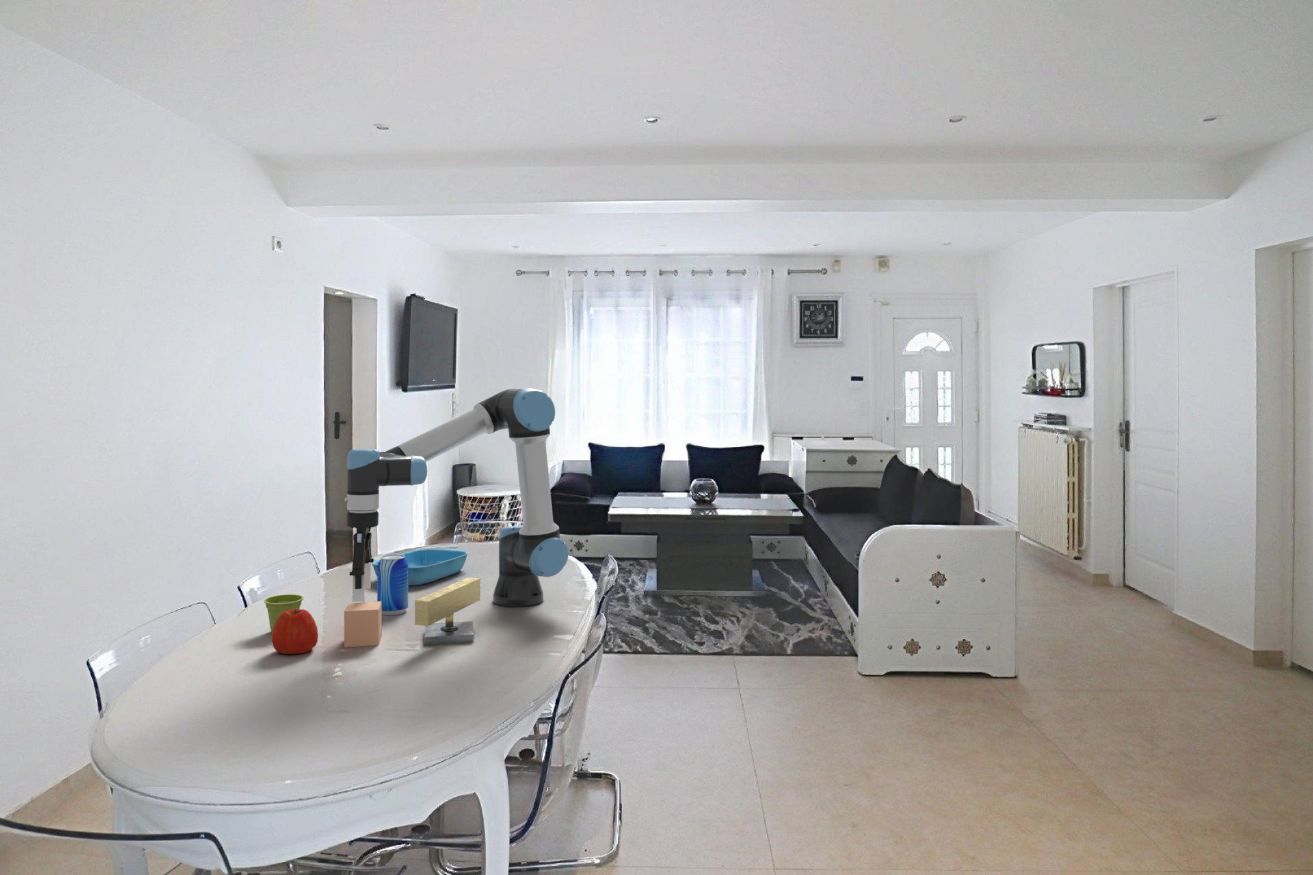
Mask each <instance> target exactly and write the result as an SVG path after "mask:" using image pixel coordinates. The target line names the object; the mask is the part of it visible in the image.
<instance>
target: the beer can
mask: <svg viewBox="0 0 1313 875" xmlns="http://www.w3.org/2000/svg"><path fill="white" fill-rule="evenodd" d="M380 559H381V560H380ZM380 559H379V560H380V561H379V563H378V565H377V576H376V579H377V580H376V586H377V587H376V589H377V590H376V591H377V592H376V595H377V596H376V597H377V598H376V599H377V600H376V602H379V601H382V615H383V616H397V615H402V614H404V613H405V612H406V611H407V609H408V608H409V585H408V563H407V561H406V560H405V556H404V555H398V554H386V555H382V556H380Z"/></svg>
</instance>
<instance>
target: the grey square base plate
mask: <svg viewBox="0 0 1313 875" xmlns="http://www.w3.org/2000/svg"><path fill="white" fill-rule="evenodd" d="M474 635H475V634H474V621H473V620H472V621H471V620H469V621H456V622H455V621H453V627H451V628H447V627H445V622H435V623H433V624H431V625H429V626H425V629H424V635H423V636H424V637H423V638H424V639H423V640H424V641H423V645H424V646H428V645H446V644H447V645H448V644H463V643H464V644H465V643H474V639H475V638H474V637H475V636H474Z"/></svg>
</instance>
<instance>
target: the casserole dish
mask: <svg viewBox="0 0 1313 875" xmlns="http://www.w3.org/2000/svg"><path fill="white" fill-rule="evenodd" d="M468 554H469V552H468V551H466V550H461V549H455V548H421V549H414V550H410V551H407V552H402V553H399V554H397V555H404V556H405V560H406V561H407V563H408V586H422V585H425V584H428V583H432V582H435V581H438V580H441V579H443V578H447V577H449V576H452V575H455V574H458V573H459V572H460V571H461V570H462V569H463V567H464V565H465V564H466V560H467V556H468ZM380 560H381V558H380V559H377V560H375V561H374V563H371V566H372V567H373V571H374V573H375V576H376V577H377V565H378V563H379V561H380Z"/></svg>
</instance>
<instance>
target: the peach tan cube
mask: <svg viewBox="0 0 1313 875" xmlns="http://www.w3.org/2000/svg"><path fill="white" fill-rule="evenodd" d="M382 618H383V617H382V601H379V602H377V601H364V602H348V603H347V605H346V607H345V609H344V610H343V631H344V632H343V634H344V635H343V636H344V637H343V638H344V639H343V645H344V646H343V647H344V648H353V647H354V648H355V647H356V648H357V647H371V646H379V645H380V641H381V638H382V632H383V630H382V624H383V623H382V621H383V620H382Z"/></svg>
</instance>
